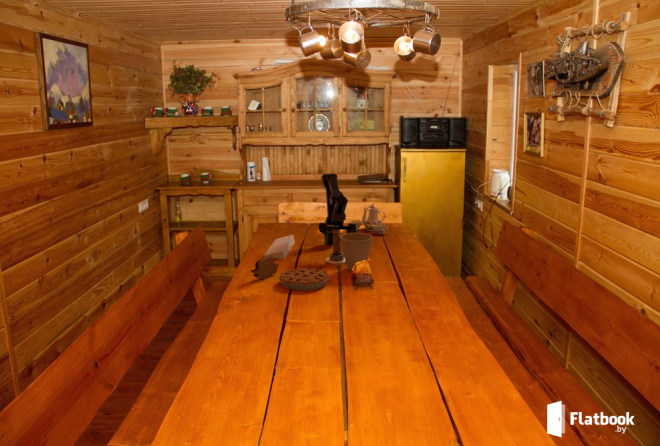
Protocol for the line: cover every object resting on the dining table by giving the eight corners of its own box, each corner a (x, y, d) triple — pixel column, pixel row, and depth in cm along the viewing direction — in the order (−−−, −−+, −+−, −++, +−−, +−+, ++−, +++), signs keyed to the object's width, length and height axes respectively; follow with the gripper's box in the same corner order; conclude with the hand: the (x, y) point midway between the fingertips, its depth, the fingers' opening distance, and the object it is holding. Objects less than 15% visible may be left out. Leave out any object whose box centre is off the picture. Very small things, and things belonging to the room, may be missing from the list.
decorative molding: (266, 264, 285) (285, 259, 284) (263, 255, 284) (282, 250, 283) (278, 246, 318) (295, 242, 317) (276, 238, 317) (292, 234, 316)
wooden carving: (271, 272, 262) (270, 251, 260) (279, 273, 260) (279, 253, 258) (249, 282, 248) (248, 260, 246) (257, 283, 246) (257, 261, 244)
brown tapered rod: (338, 258, 282) (338, 229, 279) (341, 259, 279) (341, 230, 276) (331, 259, 281) (331, 229, 278) (334, 260, 278) (335, 231, 274)
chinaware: (344, 233, 344) (342, 207, 339) (357, 225, 357) (356, 200, 352) (385, 239, 329) (384, 211, 324) (397, 230, 343) (396, 204, 338)
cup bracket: (327, 257, 286) (327, 250, 285) (348, 258, 285) (348, 251, 284) (324, 263, 275) (324, 256, 275) (346, 264, 274) (346, 257, 273)
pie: (293, 273, 260) (293, 263, 259) (336, 279, 252) (336, 268, 251) (270, 288, 241) (269, 277, 240) (316, 295, 232) (316, 283, 231)
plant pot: (334, 268, 267) (333, 236, 264) (358, 262, 276) (358, 231, 273) (354, 276, 256) (354, 242, 252) (378, 270, 264) (378, 237, 261)
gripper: (318, 206, 279) (315, 233, 271) (356, 207, 277) (354, 234, 269) (321, 219, 289) (318, 245, 280) (357, 219, 286) (355, 246, 278)
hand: (336, 242), depth 277 cm, fingers open, 9 cm apart
